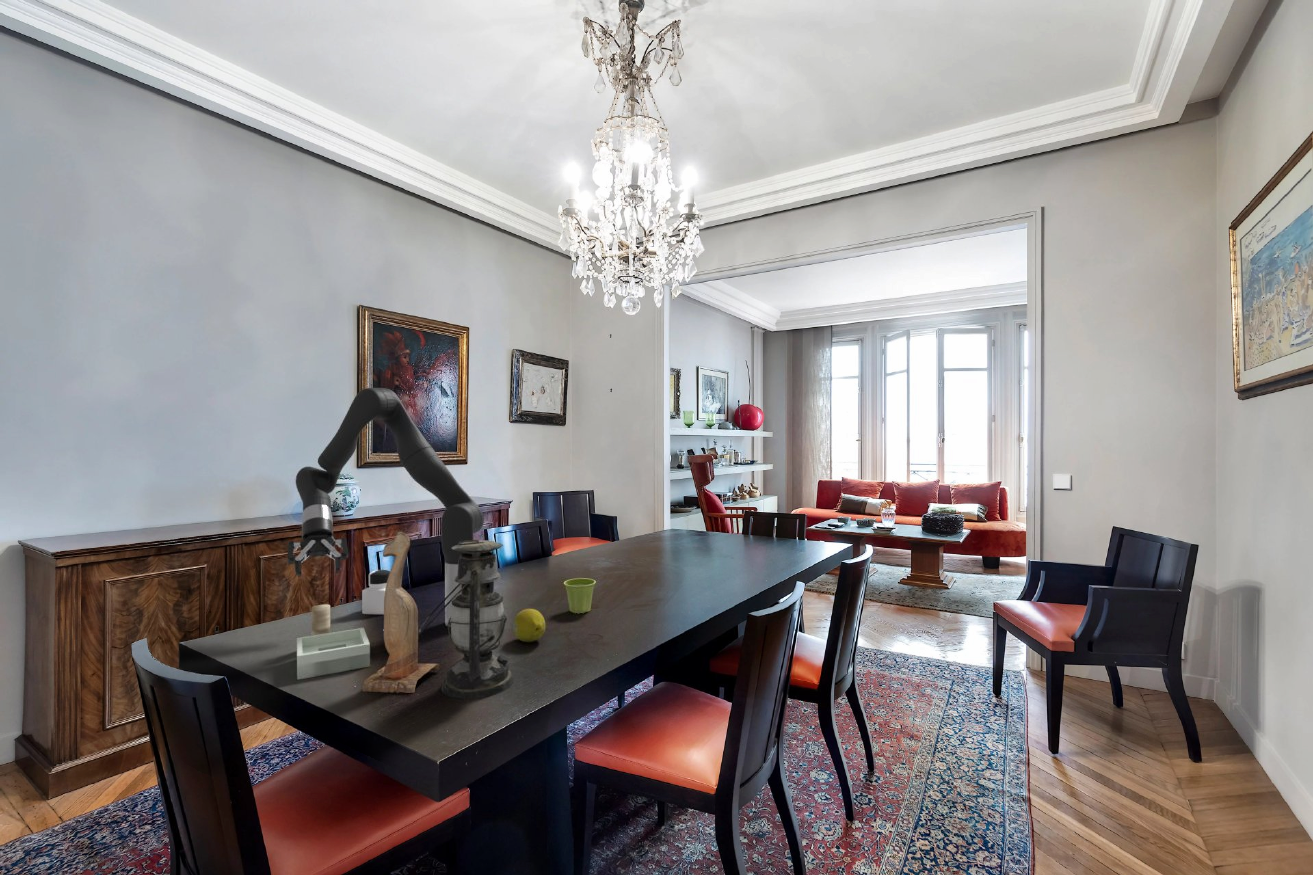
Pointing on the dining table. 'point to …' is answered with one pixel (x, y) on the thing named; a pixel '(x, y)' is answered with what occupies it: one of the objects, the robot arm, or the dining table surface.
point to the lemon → (529, 625)
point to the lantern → (476, 625)
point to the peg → (320, 619)
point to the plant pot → (579, 594)
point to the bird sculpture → (399, 630)
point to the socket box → (332, 653)
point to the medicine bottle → (375, 593)
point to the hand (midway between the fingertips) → (318, 573)
